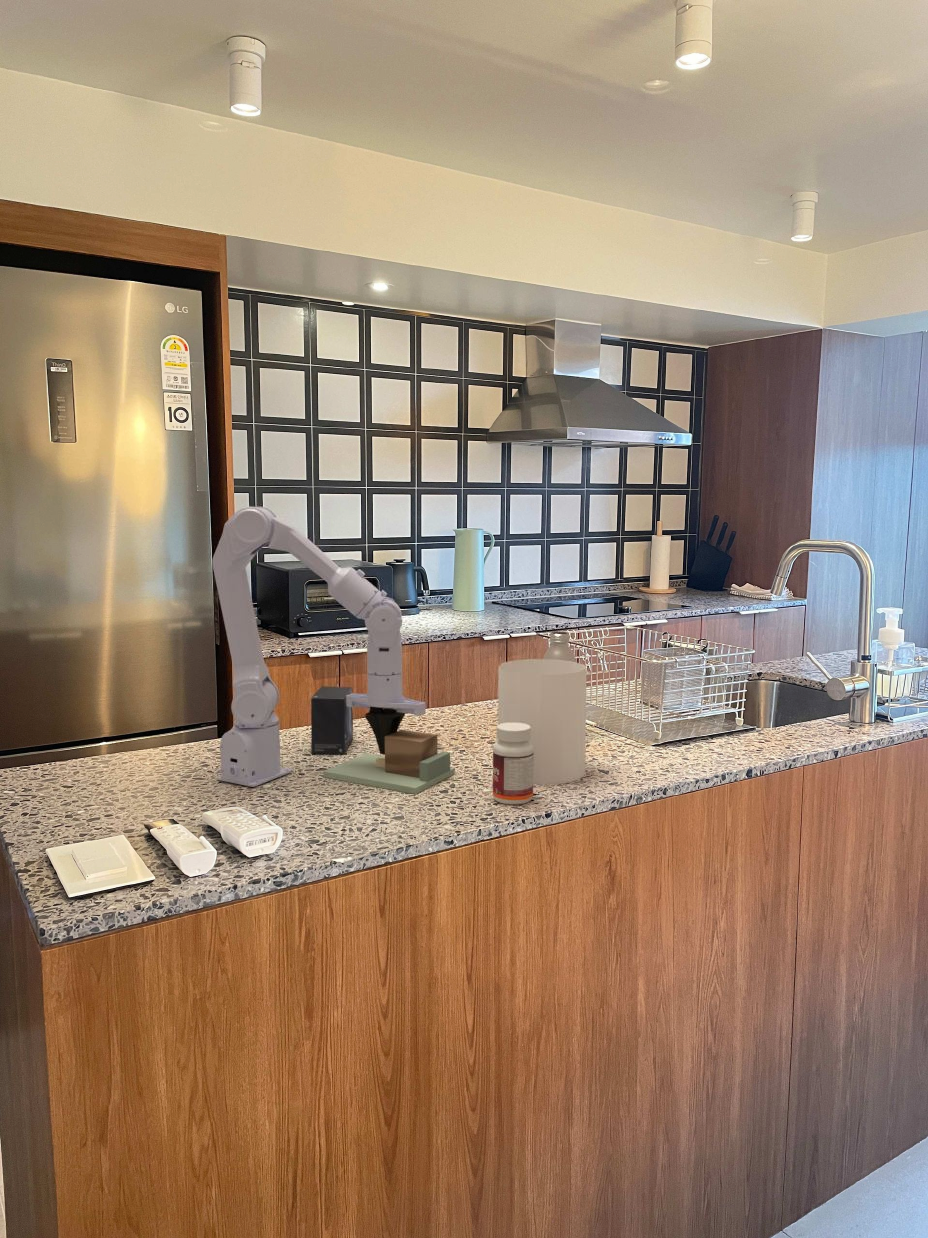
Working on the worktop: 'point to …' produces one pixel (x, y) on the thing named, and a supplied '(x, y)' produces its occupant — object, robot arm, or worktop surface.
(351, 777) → the wall board
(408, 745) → the brown block
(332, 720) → the small box
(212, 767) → the worktop surface
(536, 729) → the container
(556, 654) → the plastic bottle
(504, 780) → the pill bottle
